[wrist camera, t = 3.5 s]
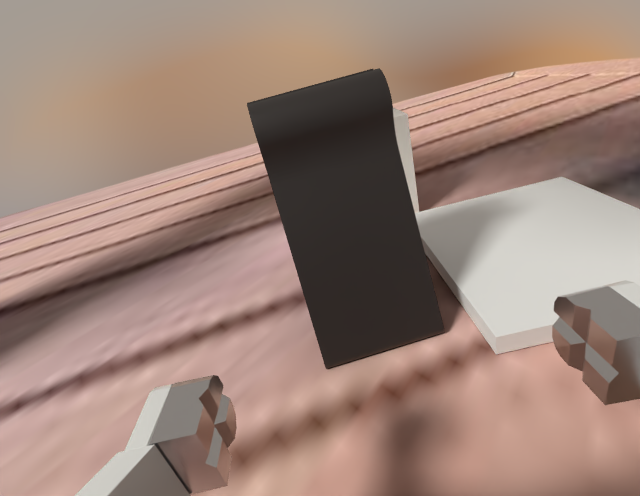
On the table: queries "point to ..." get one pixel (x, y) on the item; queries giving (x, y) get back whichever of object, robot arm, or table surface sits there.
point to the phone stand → (348, 215)
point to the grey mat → (530, 254)
